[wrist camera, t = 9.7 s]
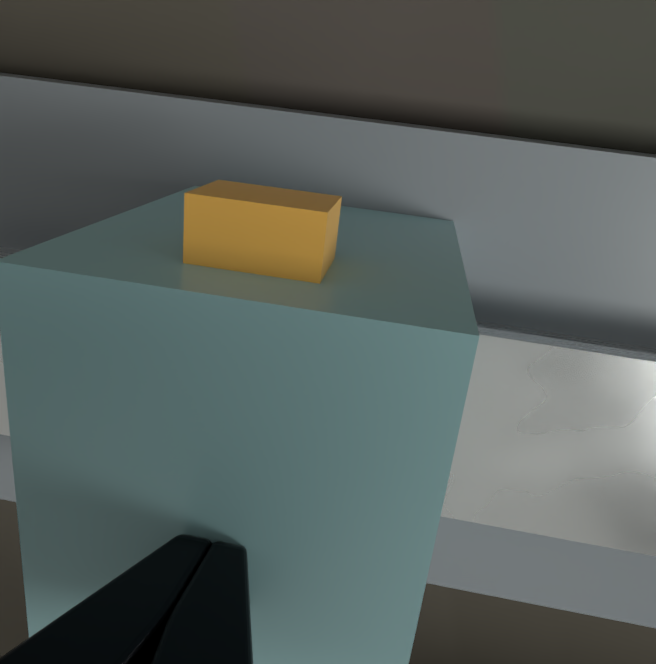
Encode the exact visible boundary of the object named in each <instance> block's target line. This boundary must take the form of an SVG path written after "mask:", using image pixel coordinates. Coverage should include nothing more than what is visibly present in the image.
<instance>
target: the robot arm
mask: <svg viewBox="0 0 656 664" xmlns="http://www.w3.org/2000/svg"><path fill="white" fill-rule="evenodd" d="M0 664H253V650H252V632H251V614H250V595H249V577H248V558H247V550H246V548H245V547H244V546H242V545H236V544H231V543H226V542H221V541H217V542H214V543H213V544H212V542H211V541H210V540H209V539H206V538H201V537H196V536H191V535H185V534H180V535H178V536H175V537H174V538H172V539H171V540H169V541H168V542H167V543H165V544H164V545H162V546H161V547H159V548H158V549H156V550H155V551H154V552H152V553H151V554H149V555H148V556H146V557H145V558H143V559H142V560H141V561H139V562H138V563H136V564H135V565H133V566H132V567H130V568H129V569H128V570H126V571H125V572H123V573H122V574H120V575H119V576H117V577H116V578H115V579H113V580H112V581H110V582H109V583H107V584H106V585H104V586H103V587H102V588H100V589H99V590H97V591H96V592H94V593H93V594H91V595H90V596H89V597H87V598H86V599H84V600H83V601H81V602H80V603H79V604H77V605H76V606H74V607H73V608H71V609H70V610H68V611H67V612H66V613H64V614H63V615H61V616H60V617H58V618H57V619H55V620H54V621H53V622H51V623H50V624H48V625H47V626H45V627H44V628H42V629H41V630H40V631H38V632H37V633H35V634H34V635H32V636H31V637H29V638H28V639H27V640H25V641H24V642H22V643H21V644H19V645H18V646H16V647H15V648H14V649H12V650H11V651H9V652H8V653H6V654H5V655H3V656H2V657H1V658H0Z"/></svg>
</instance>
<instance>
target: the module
mask: <svg viewBox="0 0 656 664" xmlns="http://www.w3.org/2000/svg"><path fill="white" fill-rule="evenodd" d="M341 200H342V196H336V195H329V194H321V193H314V192H307V191H299V190H292V189H284V188H277V187H270V186H262V185H255V184H247V183H240V182H233V181H225V180H216V181H214V182H211V183H209V184H206V185H203V186H201V187H200V186H193V187H190V188H187V189H185V190H182V191H179V192H177V193H174V194H171V195H169V196H166V197H163V198H161V199H158V200H155V201H153V202H150V203H147V204H145V205H142V206H139V207H137V208H134V209H131V210H129V211H126V212H123V213H121V214H118V215H115V216H113V217H110V218H107V219H105V220H102V221H99V222H97V223H94V224H91V225H89V226H86V227H83V228H81V229H78V230H75V231H73V232H70V233H67V234H65V235H62V236H59V237H57V238H54V239H51V240H49V241H46V242H43V243H41V244H38V245H35V246H33V247H30V248H27V249H25V250H22V251H19V252H16V253H14V254H11V255H8V256H6V257H3V258H0V334H1V344H2V355H3V366H4V376H5V387H6V398H7V408H8V419H9V430H10V440H11V451H12V462H13V472H14V483H15V494H16V504H17V515H18V526H19V536H20V547H21V558H22V568H23V579H24V590H25V600H26V611H27V622H28V632H29V637H31V636H32V635H34V634H35V633H37V632H38V631H40V630H41V629H42V628H44V627H45V626H47V625H48V624H50V623H51V622H53V621H54V620H55V619H57V618H58V617H60V616H61V615H63V614H64V613H66V612H67V611H68V610H70V609H71V608H73V607H74V606H76V605H77V604H79V603H80V602H81V601H83V600H84V599H86V598H87V597H89V596H90V595H91V594H93V593H94V592H96V591H97V590H99V589H100V588H102V587H103V586H104V585H106V584H107V583H109V582H110V581H112V580H113V579H115V578H116V577H117V576H119V575H120V574H122V573H123V572H125V571H126V570H128V569H129V568H130V567H132V566H133V565H135V564H136V563H138V562H139V561H141V560H142V559H143V558H145V557H146V556H148V555H149V554H151V553H152V552H154V551H155V550H156V549H158V548H159V547H161V546H162V545H164V544H165V543H167V542H168V541H169V540H171V539H172V538H174V537H175V536H178V535H180V534H185V535H191V536H196V537H201V538H206V539H209V540H210V541H211V542H212V544H213V543H214V542H217V541H221V542H226V543H231V544H236V545H242V546H244V547H245V548H246V550H247V558H248V577H249V595H250V614H251V632H252V650H253V664H409V660H410V655H411V651H412V646H413V641H414V637H415V632H416V627H417V623H418V618H419V613H420V609H421V604H422V600H423V595H424V590H425V586H426V581H427V576H428V572H429V567H430V563H431V558H432V553H433V549H434V544H435V539H436V535H437V530H438V525H439V521H440V516H441V512H442V507H443V502H444V498H445V493H446V488H447V484H448V479H449V475H450V470H451V465H452V461H453V456H454V451H455V447H456V442H457V438H458V433H459V428H460V424H461V419H462V414H463V410H464V405H465V400H466V396H467V391H468V387H469V382H470V377H471V373H472V368H473V363H474V359H475V354H476V350H477V345H478V340H479V332H478V327H477V323H476V318H475V314H474V310H473V305H472V301H471V296H470V292H469V287H468V283H467V278H466V274H465V270H464V265H463V261H462V256H461V252H460V247H459V243H458V238H457V234H456V230H455V225H454V221H449V220H442V219H435V218H427V217H420V216H413V215H405V214H398V213H391V212H383V211H376V210H369V209H362V208H354V207H347V206H341Z"/></svg>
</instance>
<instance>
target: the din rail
mask: <svg viewBox="0 0 656 664" xmlns="http://www.w3.org/2000/svg"><path fill="white" fill-rule="evenodd" d="M19 251H22V250H16V249H10V248H3V247H0V258H3V257H6V256H8V255H11V254H14V253H16V252H19ZM476 323H477V327H478V332H479V340H478V345H477V350H476V354H475V359H474V363H473V368H472V373H471V377H470V382H469V387H468V391H467V396H466V400H465V405H464V410H463V414H462V419H461V424H460V428H459V433H458V438H457V442H456V447H455V451H454V456H453V461H452V465H451V470H450V475H449V479H448V484H447V488H446V493H445V498H444V502H443V507H442V512H441V517H447V518H452V519H458V520H463V521H468V522H474V523H479V524H484V525H490V526H495V527H501V528H506V529H511V530H517V531H522V532H527V533H533V534H538V535H543V536H549V537H554V538H560V539H565V540H570V541H576V542H581V543H586V544H592V545H597V546H602V547H608V548H613V549H619V550H624V551H629V552H635V553H640V554H645V555H651V556H656V348H650V347H644V346H637V345H631V344H624V343H618V342H611V341H605V340H598V339H592V338H585V337H579V336H572V335H566V334H559V333H553V332H547V331H540V330H534V329H527V328H521V327H514V326H508V325H501V324H495V323H488V322H482V321H476ZM0 434H1V435H7V436H10V430H9V419H8V408H7V398H6V387H5V376H4V366H3V355H2V344H1V334H0Z"/></svg>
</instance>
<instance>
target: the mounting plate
mask: <svg viewBox="0 0 656 664" xmlns="http://www.w3.org/2000/svg"><path fill="white" fill-rule="evenodd" d="M216 180H225V181H233V182H240V183H247V184H255V185H262V186H270V187H277V188H284V189H292V190H299V191H307V192H314V193H321V194H329V195H336V196H342V200H341V206H347V207H354V208H362V209H369V210H376V211H383V212H391V213H398V214H405V215H413V216H420V217H427V218H435V219H442V220H449V221H454V225H455V230H456V234H457V238H458V243H459V247H460V252H461V256H462V261H463V265H464V270H465V274H466V278H467V283H468V287H469V292H470V296H471V301H472V305H473V310H474V314H475V318H476V321H482V322H488V323H495V324H501V325H508V326H514V327H521V328H527V329H534V330H540V331H547V332H553V333H559V334H566V335H572V336H579V337H585V338H592V339H598V340H605V341H611V342H618V343H624V344H631V345H637V346H644V347H650V348H656V154H648V153H640V152H632V151H624V150H616V149H608V148H600V147H592V146H584V145H576V144H568V143H560V142H552V141H544V140H536V139H528V138H520V137H512V136H504V135H496V134H488V133H480V132H472V131H464V130H456V129H448V128H440V127H432V126H424V125H416V124H408V123H400V122H392V121H384V120H376V119H368V118H360V117H352V116H344V115H336V114H328V113H320V112H312V111H304V110H296V109H288V108H280V107H272V106H264V105H256V104H248V103H240V102H232V101H224V100H216V99H208V98H200V97H192V96H184V95H176V94H168V93H160V92H152V91H144V90H136V89H128V88H120V87H112V86H104V85H96V84H88V83H80V82H72V81H64V80H56V79H48V78H40V77H32V76H24V75H16V74H8V73H0V247H3V248H10V249H16V250H25V249H27V248H30V247H33V246H35V245H38V244H41V243H43V242H46V241H49V240H51V239H54V238H57V237H59V236H62V235H65V234H67V233H70V232H73V231H75V230H78V229H81V228H83V227H86V226H89V225H91V224H94V223H97V222H99V221H102V220H105V219H107V218H110V217H113V216H115V215H118V214H121V213H123V212H126V211H129V210H131V209H134V208H137V207H139V206H142V205H145V204H147V203H150V202H153V201H155V200H158V199H161V198H163V197H166V196H169V195H171V194H174V193H177V192H179V191H182V190H185V189H187V188H190V187H193V186H200V187H201V186H203V185H206V184H209V183H211V182H214V181H216ZM0 499H3V500H8V501H13V502H16V494H15V483H14V472H13V462H12V451H11V440H10V436H7V435H1V434H0ZM426 583H429V584H434V585H439V586H444V587H449V588H454V589H459V590H465V591H470V592H475V593H480V594H485V595H490V596H495V597H500V598H505V599H510V600H515V601H520V602H525V603H530V604H535V605H541V606H546V607H551V608H556V609H561V610H566V611H571V612H576V613H581V614H586V615H591V616H596V617H601V618H606V619H612V620H617V621H622V622H627V623H632V624H637V625H642V626H647V627H652V628H656V556H651V555H645V554H640V553H635V552H629V551H624V550H619V549H613V548H608V547H602V546H597V545H592V544H586V543H581V542H576V541H570V540H565V539H560V538H554V537H549V536H543V535H538V534H533V533H527V532H522V531H517V530H511V529H506V528H501V527H495V526H490V525H484V524H479V523H474V522H468V521H463V520H458V519H452V518H447V517H441V516H440V521H439V525H438V530H437V535H436V539H435V544H434V549H433V553H432V558H431V563H430V567H429V572H428V576H427V581H426Z"/></svg>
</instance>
